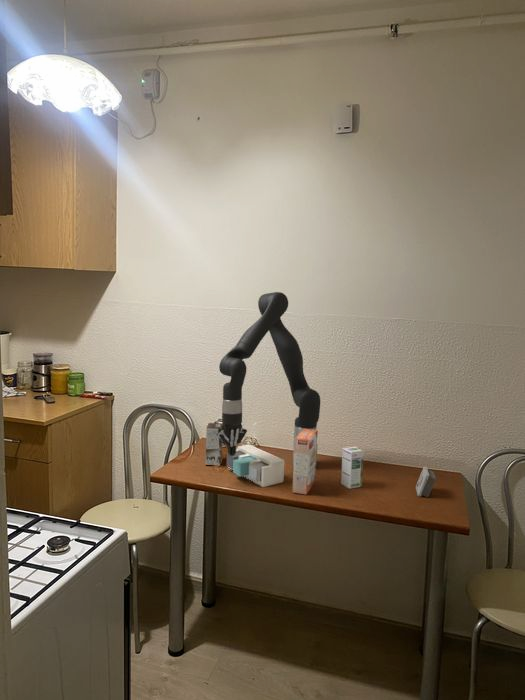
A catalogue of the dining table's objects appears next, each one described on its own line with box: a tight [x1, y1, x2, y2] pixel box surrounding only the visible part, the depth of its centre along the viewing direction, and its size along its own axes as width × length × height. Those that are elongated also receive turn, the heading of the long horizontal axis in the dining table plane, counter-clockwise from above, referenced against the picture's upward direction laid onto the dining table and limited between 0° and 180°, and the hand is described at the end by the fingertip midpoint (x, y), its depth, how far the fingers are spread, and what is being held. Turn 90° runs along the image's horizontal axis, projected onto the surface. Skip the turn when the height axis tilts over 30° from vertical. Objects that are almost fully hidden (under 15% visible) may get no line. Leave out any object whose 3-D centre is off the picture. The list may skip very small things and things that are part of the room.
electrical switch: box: [415, 466, 437, 498], centre depth 192 cm, size 9×5×9 cm, turn 169°
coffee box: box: [205, 422, 224, 466], centre depth 216 cm, size 9×6×16 cm
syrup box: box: [340, 446, 364, 489], centre depth 197 cm, size 6×6×14 cm
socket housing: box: [229, 444, 285, 488], centre depth 204 cm, size 10×23×9 cm, turn 37°
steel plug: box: [248, 462, 269, 482], centre depth 197 cm, size 10×5×5 cm, turn 128°
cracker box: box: [291, 429, 319, 496], centre depth 192 cm, size 14×6×21 cm, turn 163°
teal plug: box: [232, 456, 258, 477], centre depth 201 cm, size 10×5×5 cm, turn 127°
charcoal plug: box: [226, 451, 245, 469], centre depth 209 cm, size 10×5×5 cm, turn 128°
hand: (231, 455), depth 196 cm, fingers closed
